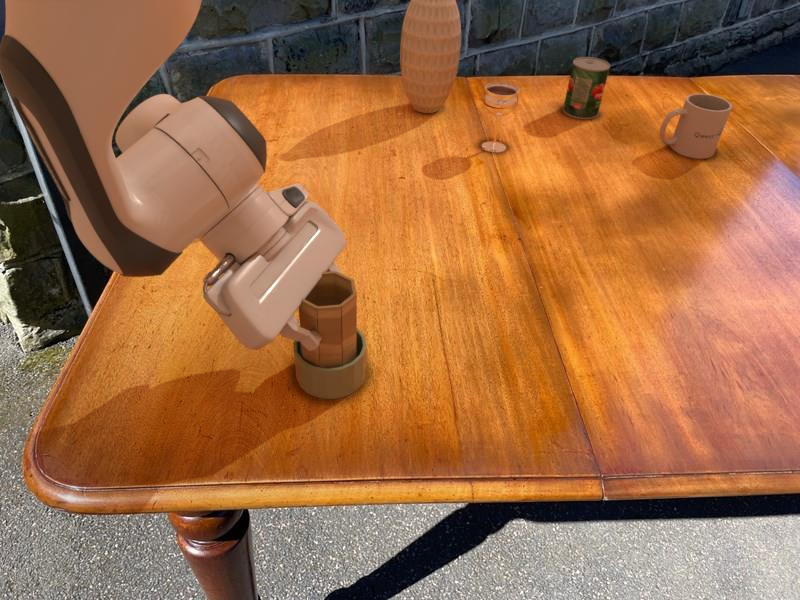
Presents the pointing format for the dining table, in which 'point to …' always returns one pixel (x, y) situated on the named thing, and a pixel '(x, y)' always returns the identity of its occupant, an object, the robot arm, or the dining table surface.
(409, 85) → the vase
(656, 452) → the dining table surface
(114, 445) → the dining table surface
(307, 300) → the octagonal wooden container
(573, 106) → the canned tomato
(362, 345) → the gray bowl
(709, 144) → the mug
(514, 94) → the wineglass
